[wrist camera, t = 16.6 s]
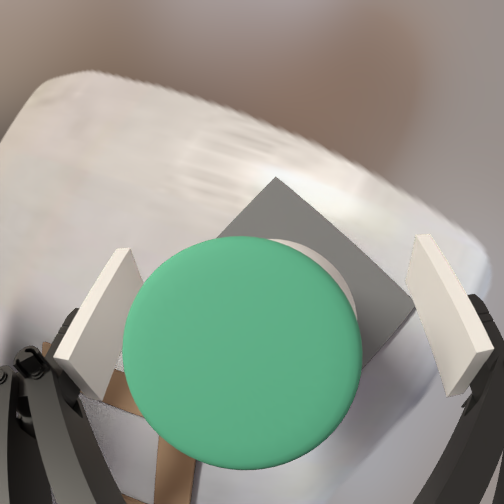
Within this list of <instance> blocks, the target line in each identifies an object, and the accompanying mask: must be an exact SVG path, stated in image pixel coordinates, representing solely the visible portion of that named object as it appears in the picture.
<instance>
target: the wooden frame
mask: <svg viewBox="0 0 504 504" xmlns="http://www.w3.org/2000/svg"><path fill="white" fill-rule="evenodd" d="M50 346H51V344H50V343H47V342H43V345H42V355H43V356H44V357H45V356H46V354H47V352H48V350H49V348H50ZM80 392H81V391H80ZM81 393H82V392H81ZM102 402H104V403H107V404H109V405H112V406H115V407H117V408H120V409H122V410H125V411H128V412H131V413H133V414H136V415H139V416H142V417H144V416H143V415H142V413H141V412H140V410H139V409H138V407H137V405H136V403H135V401H134V399H133V397H132V394H131V392H130V389H129V386H128V383H127V380H126V376H125V373H124V372H122V371H119V370H116V369H114V371H113V374H112V376H111V379H110V381H109V384H108V387H107V389H106V392H105V395H104V398H103V400H102ZM195 465H196V459H194V458H191V457H189V456H187V455H186V454H184V453H182V452H181V451H179V450H177V449H176V448H174V447H173V446H172V445H170V444H169V443H168V442H167V441H165V440H164V439H163V438H162V437H161V436H160V435H159V443H158V453H157V465H156V478H155V492H154V504H190V501H191V494H192V486H193V479H194V472H195ZM122 496H123V498H124V500H125V502H126V504H146V503H144V502H141V501H138V500H136V499H133V498H131V497H128V496H126V495H124V494H122Z"/></svg>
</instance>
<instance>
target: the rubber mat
mask: <svg viewBox="0 0 504 504" xmlns="http://www.w3.org/2000/svg"><path fill="white" fill-rule="evenodd" d="M230 236H249V237H258V238H264V239H281V240H287V241H291V242H295V243H298V244H301V245H304V246H306V247H308V248H310V249H312V250H314V251H315V252H317V253H319V254H320V255H322V256H323V257H324V258H325V259H327V260H328V261H329V262H330V263H331V264H332V265H333V266H334V267H335V268H336V269H337V270H338V272H339V273H340V274H341V276H342V277H343V278H344V280H345V282H346V283H347V285H348V287H349V289H350V292H351V294H352V297H353V300H354V303H355V307H356V313H357V322H358V325H359V329H360V334H361V340H362V351H363V354H362V369H363V367H364V366H365V365H366V364H367V363H368V362H369V361H370V360H371V359H372V358H373V356H374V355H375V354H376V353H377V352H378V351H379V350H380V348H381V347H382V346H383V345H384V344H385V343H386V342H387V340H388V339H389V338H390V337H391V336H392V334H393V333H394V332H395V331H396V330H397V328H398V327H399V326H400V325H401V324H402V322H403V321H404V320H405V319H406V317H407V316H408V315H409V313H410V312H411V311H412V310H413V308H414V307H415V304H414V302H413V300H412V299H411V298H410V297H409V296H408V295H407V294H406V293H405V292H404V291H403V290H402V289H401V288H400V287H399V286H398V285H397V284H396V283H395V282H394V281H393V280H392V279H391V278H390V277H389V276H388V275H387V274H386V273H385V272H384V271H383V270H381V269H380V268H379V267H378V266H377V265H376V264H375V263H374V262H373V261H372V260H371V259H370V258H369V257H368V256H367V255H365V254H364V253H363V252H362V251H361V250H360V249H359V248H358V247H357V246H356V245H355V244H353V243H352V242H351V241H350V240H349V239H348V238H347V237H346V236H345V235H343V234H342V233H341V232H340V231H339V230H338V229H337V228H336V227H335V226H333V225H332V224H331V223H330V222H329V221H328V220H327V219H325V218H324V217H323V216H322V215H321V214H320V213H318V212H317V211H316V210H315V209H314V208H313V207H312V206H310V205H309V204H308V203H307V202H306V201H304V200H303V199H302V198H301V197H300V196H299V195H297V194H296V193H295V192H294V191H293V190H291V189H290V188H289V187H288V186H287V185H285V184H284V183H283V182H282V181H281V180H279V179H278V178H277V177H275V178H274V179H273V180H272V181H271V182H270V183H269V184H268V185H267V186H266V187H265V188H264V189H263V190H262V191H261V192H260V193H259V194H258V195H257V196H256V197H255V198H254V199H253V200H252V201H251V203H250V204H249V205H248V206H247V207H246V208H245V209H244V210H243V211H242V212H241V213H240V214H239V215H238V216H237V217H236V218H235V219H234V220H233V221H232V222H231V223H230V224H229V225H228V227H227V228H226V229H225V230H224V231H223V232H222V233H221V234H220V235H219V236H218V237H217V238H222V237H230ZM362 369H361V370H362Z"/></svg>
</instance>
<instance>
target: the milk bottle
mask: <svg viewBox="0 0 504 504" xmlns="http://www.w3.org/2000/svg"><path fill="white" fill-rule="evenodd" d="M122 353H123V365H124V372H125V376H126V380H127V383H128V386H129V389H130V392H131V394H132V397H133V399H134V401H135V403H136V405H137V407H138V409H139V410H140V412H141V413H142V415H143V416H144V418H145V419H146V421H147V422H148V423H149V424H150V426H151V427H152V428H153V429H154V430H155V431H156V432H157V433H158V434H159V435H160V436H161V437H162V438H163V439H164V440H165V441H167V442H168V443H169V444H170V445H172V446H173V447H174V448H176V449H177V450H179V451H181V452H182V453H184V454H186V455H187V456H189V457H191V458H194V459H196V460H198V461H201V462H203V463H206V464H209V465H213V466H217V467H221V468H227V469H235V470H257V469H265V468H270V467H275V466H279V465H282V464H285V463H288V462H290V461H293V460H295V459H297V458H299V457H301V456H303V455H305V454H307V453H308V452H310V451H311V450H313V449H314V448H316V447H317V446H318V445H320V444H321V443H322V442H323V441H324V440H326V439H327V438H328V437H329V436H330V435H331V434H332V433H333V431H334V430H335V429H336V428H337V427H338V425H339V424H340V423H341V422H342V420H343V418H344V417H345V415H346V414H347V412H348V410H349V408H350V406H351V404H352V402H353V399H354V397H355V394H356V391H357V388H358V384H359V380H360V376H361V369H362V354H363V351H362V340H361V334H360V329H359V325H358V322H357V313H356V307H355V303H354V300H353V297H352V294H351V292H350V289H349V287H348V285H347V283H346V282H345V280H344V278H343V277H342V276H341V274H340V273H339V272H338V270H337V269H336V268H335V267H334V266H333V265H332V264H331V263H330V262H329V261H328V260H327V259H325V258H324V257H323V256H322V255H320V254H319V253H317V252H315V251H314V250H312V249H310V248H308V247H306V246H304V245H301V244H298V243H295V242H291V241H287V240H281V239H264V238H258V237H249V236H230V237H222V238H216V239H212V240H208V241H205V242H202V243H199V244H196V245H193V246H191V247H189V248H187V249H184V250H182V251H181V252H179V253H177V254H176V255H174V256H172V257H171V258H170V259H168V260H167V261H165V262H164V263H163V264H162V265H161V266H160V267H158V268H157V269H156V270H155V271H154V272H153V273H152V274H151V276H150V277H149V278H148V279H147V280H146V282H145V283H144V284H143V286H142V287H141V288H140V290H139V292H138V294H137V295H136V297H135V299H134V301H133V303H132V305H131V308H130V310H129V313H128V316H127V320H126V324H125V328H124V334H123V346H122Z"/></svg>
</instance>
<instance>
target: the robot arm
mask: <svg viewBox="0 0 504 504" xmlns="http://www.w3.org/2000/svg"><path fill="white" fill-rule="evenodd" d="M405 283H406V285H407V287H408V290H409V292H410V295H411V297H412V299H413V302H414V304H415V307H416V309H417V312H418V314H419V317H420V320H421V322H422V325H423V327H424V330H425V333H426V336H427V338H428V341H429V344H430V347H431V350H432V352H433V355H434V358H435V361H436V364H437V367H438V370H439V373H440V377H441V380H442V383H443V386H444V390H445V393H446V396H447V397H451V396H456V395H460V394H463V393H464V392H465V391H466V389H467V388H468V387H469V385H470V387H471V390H472V394H471V395H470V396H469V398H468V399H467V400H466V401H465V402H464V404H463V405H462V407H465V408H464V411H463V413H462V415H461V417H460V420H459V422H458V424H457V426H456V428H455V430H454V432H453V434H452V436H451V439H450V440H449V442H448V444H447V446H446V448H445V450H444V452H443V454H442V456H441V458H440V460H439V461H438V463H437V465H436V467H435V468H434V470H433V472H432V474H431V475H430V477H429V479H428V480H427V482H426V484H425V485H424V487H423V488H422V490H421V492H420V493H419V495H418V496H417V498H416V499H415V501H414V502H413V504H479V503H480V501H481V499H482V497H483V495H484V493H485V491H486V489H487V487H488V485H489V482H490V480H491V478H492V476H493V473H494V471H495V469H496V466H497V464H498V461H499V459H500V456H501V454H502V451H503V457H502V462H501V467H500V473H499V478H498V482H497V487H496V491H495V495H494V499H493V503H492V504H504V450H503V448H504V340H503V338H502V336H501V334H500V332H499V330H498V328H497V326H496V324H495V322H493V318H492V317H491V315H490V314H489V311H488V309H487V307H486V306H485V304H484V302H483V301H482V300H481V299H480V298H479V297H478V296H476V295H475V294H471V295H467V294H466V292H465V290H464V289H463V287H462V285H461V283H460V282H459V280H458V278H457V276H456V275H455V273H454V271H453V270H452V268H451V266H450V265H449V263H448V261H447V260H446V258H445V257H444V255H443V253H442V252H441V250H440V249H439V247H438V246H437V244H436V242H435V241H434V239H433V238H432V236H431V235H430V234H419V235H415V240H414V245H413V250H412V254H411V259H410V263H409V268H408V272H407V276H406V280H405ZM142 286H143V281H142V278H141V276H140V273H139V270H138V268H137V265H136V262H135V260H134V257H133V254H132V251H131V249H130V248H119V249H116V251H115V252H114V254H113V255H112V257H111V258H110V260H109V261H108V263H107V264H106V266H105V268H104V269H103V271H102V272H101V274H100V275H99V277H98V279H97V280H96V282H95V284H94V285H93V287H92V288H91V290H90V292H89V293H88V295H87V297H86V298H85V300H84V302H83V304H82V305H81V307H80V308H75V309H74V310H73V311H72V312H71V313H70V314H69V315H68V316H67V318H66V319H65V321H64V323H63V325H62V327H61V328H60V330H59V332H58V334H57V335H56V337H55V339H54V341H53V343H52V344H51V346H50V348H49V350H48V352H47V354H46V356H45V357H44V356H43V355H42V353H41V352H40V351H39V350H38V348H36V347H35V346H27V347H25V348H23V349H22V350H20V351H19V353H18V354H17V355H16V357H15V359H14V363H13V366H14V367H15V368H16V369H17V370H18V371H19V372H17V373H15V372H14V371H13V370H12V369H11V367H9V366H7V365H6V366H1V367H0V504H52V497H51V490H50V486H51V489H52V492H53V494H54V497H55V500H56V502H57V504H126V502H125V500H124V498H123V496H122V494H121V492H120V491H119V489H118V487H117V485H116V483H115V481H114V479H113V477H112V475H111V472H110V470H109V468H108V466H107V464H106V462H105V460H104V457H103V455H102V453H101V451H100V448H99V446H98V444H97V441H96V439H95V436H94V434H93V431H92V429H91V426H90V424H89V421H88V418H87V416H86V413H85V410H84V407H83V405H82V402H81V400H80V398H79V397H78V396H79V393H80V391H81V392H82V393H83V394H84V395H85V396H86V397H87V398H89V399H94V400H99V401H102V400H103V398H104V395H105V392H106V389H107V387H108V384H109V381H110V379H111V376H112V374H113V371H114V368H115V366H116V363H117V361H118V358H119V356H120V353H121V351H122V346H123V334H124V328H125V324H126V320H127V316H128V313H129V310H130V308H131V305H132V303H133V301H134V299H135V297H136V295H137V294H138V292H139V290H140V288H141V287H142ZM465 405H466V406H465ZM16 411H17V412H18V418H17V417H16Z"/></svg>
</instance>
